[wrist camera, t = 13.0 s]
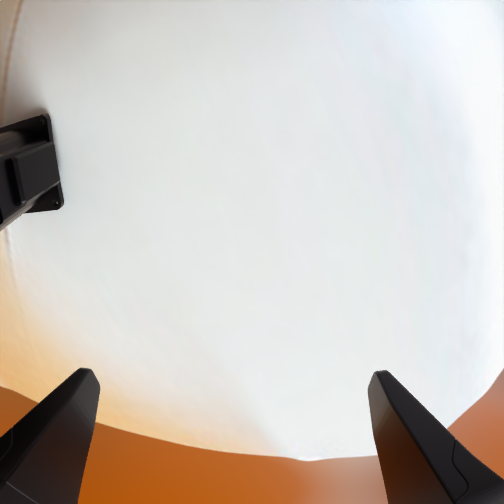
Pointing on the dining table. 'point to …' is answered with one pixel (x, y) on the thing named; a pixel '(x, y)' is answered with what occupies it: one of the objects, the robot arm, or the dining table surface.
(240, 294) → the dining table surface
